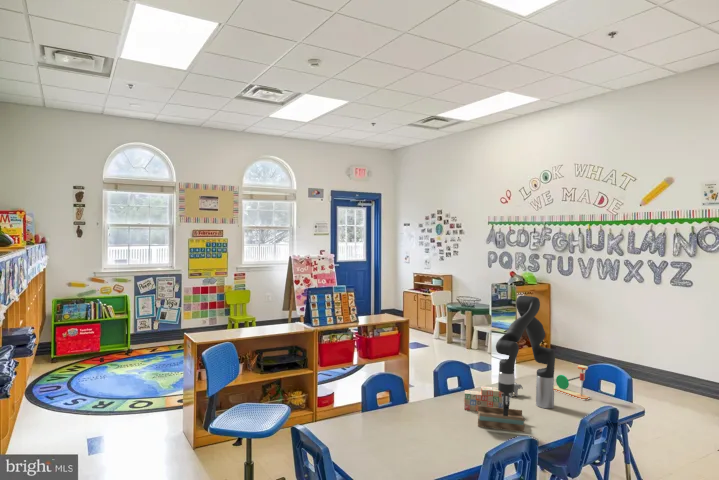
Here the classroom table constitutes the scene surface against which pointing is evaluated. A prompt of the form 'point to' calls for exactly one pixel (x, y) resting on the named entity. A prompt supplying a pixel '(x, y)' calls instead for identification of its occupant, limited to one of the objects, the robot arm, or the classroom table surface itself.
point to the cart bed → (498, 424)
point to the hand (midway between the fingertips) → (505, 416)
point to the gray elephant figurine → (516, 389)
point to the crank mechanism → (564, 384)
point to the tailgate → (501, 419)
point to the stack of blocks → (483, 398)
